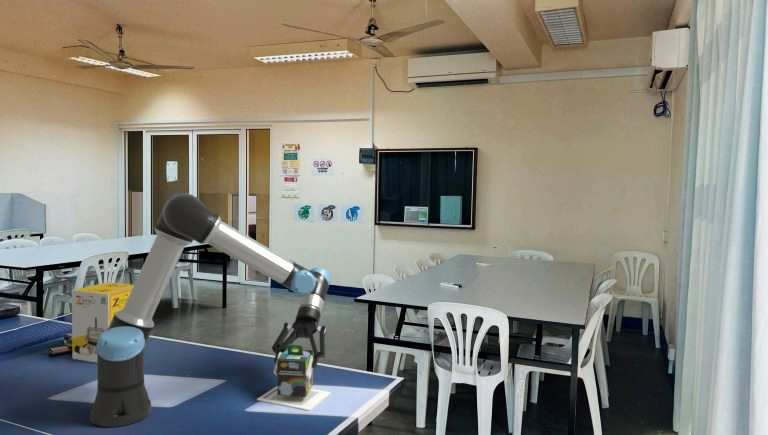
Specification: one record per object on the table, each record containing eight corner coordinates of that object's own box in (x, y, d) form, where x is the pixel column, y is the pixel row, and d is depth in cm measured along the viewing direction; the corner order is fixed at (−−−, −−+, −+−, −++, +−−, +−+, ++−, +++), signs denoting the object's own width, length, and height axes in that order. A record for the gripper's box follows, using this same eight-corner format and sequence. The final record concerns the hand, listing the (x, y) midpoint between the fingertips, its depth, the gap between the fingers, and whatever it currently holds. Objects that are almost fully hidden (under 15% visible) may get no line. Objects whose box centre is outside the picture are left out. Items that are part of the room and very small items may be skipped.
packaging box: (72, 359, 192) (71, 290, 190) (107, 345, 207) (107, 282, 205) (108, 364, 187) (108, 294, 185) (142, 350, 202) (142, 285, 201)
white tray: (309, 410, 155) (309, 409, 155) (256, 400, 161) (256, 398, 161) (331, 393, 168) (331, 392, 168) (281, 383, 174) (281, 382, 174)
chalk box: (313, 385, 169) (314, 339, 167) (306, 397, 159) (307, 349, 158) (284, 383, 169) (285, 338, 168) (276, 395, 160) (276, 347, 159)
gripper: (344, 319, 176) (329, 384, 162) (280, 314, 180) (260, 377, 166) (340, 307, 170) (324, 373, 156) (274, 302, 175) (253, 366, 160)
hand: (291, 375), depth 161 cm, fingers closed on chalk box, 9 cm apart
